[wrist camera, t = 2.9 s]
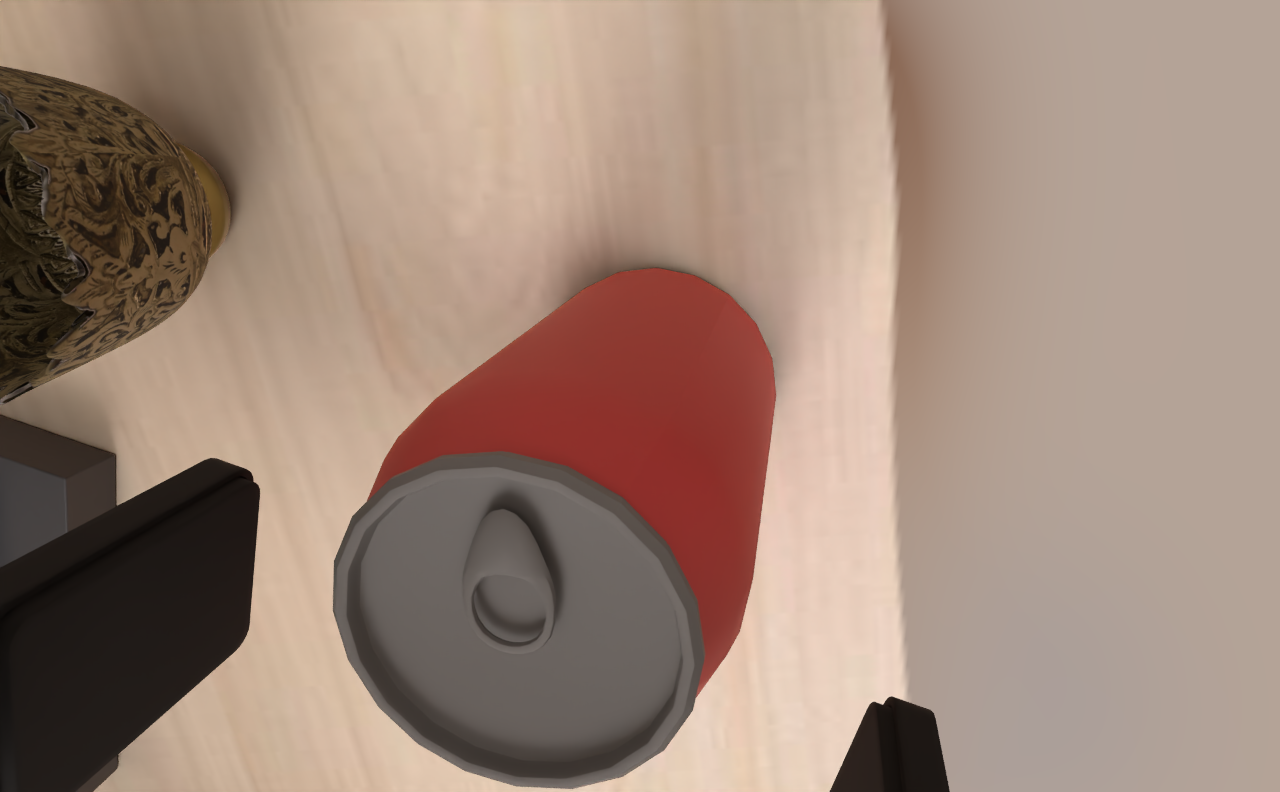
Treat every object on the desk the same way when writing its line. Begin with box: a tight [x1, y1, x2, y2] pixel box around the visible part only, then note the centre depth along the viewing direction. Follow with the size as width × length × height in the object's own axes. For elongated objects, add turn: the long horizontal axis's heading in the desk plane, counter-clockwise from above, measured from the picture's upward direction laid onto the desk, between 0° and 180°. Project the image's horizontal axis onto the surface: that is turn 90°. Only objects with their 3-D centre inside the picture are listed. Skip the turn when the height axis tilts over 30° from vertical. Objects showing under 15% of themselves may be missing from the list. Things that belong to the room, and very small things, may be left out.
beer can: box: [333, 268, 776, 789], centre depth 17 cm, size 7×7×12 cm
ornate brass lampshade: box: [0, 66, 231, 405], centre depth 20 cm, size 8×7×8 cm
